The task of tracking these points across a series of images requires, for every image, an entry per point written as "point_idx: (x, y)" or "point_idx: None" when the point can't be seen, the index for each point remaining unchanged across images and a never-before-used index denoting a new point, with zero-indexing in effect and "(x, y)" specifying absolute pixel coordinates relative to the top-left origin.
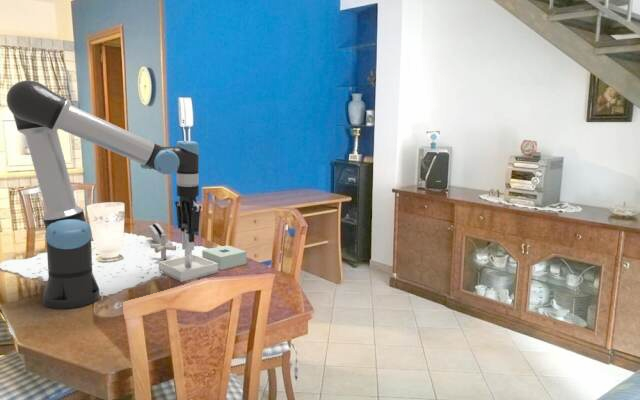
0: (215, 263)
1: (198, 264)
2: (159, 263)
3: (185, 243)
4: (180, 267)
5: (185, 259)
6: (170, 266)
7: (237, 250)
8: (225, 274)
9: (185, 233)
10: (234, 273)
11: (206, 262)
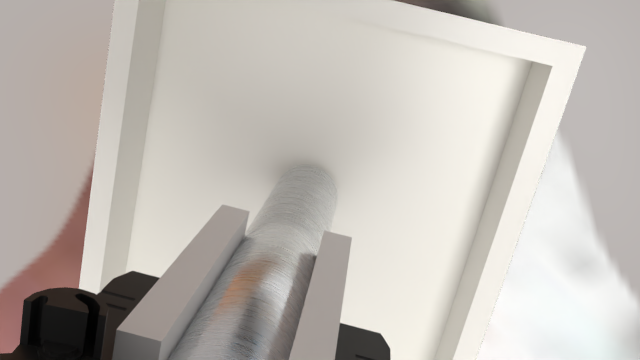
0: None
1: None
2: (562, 41)
3: (261, 264)
4: (404, 187)
5: (298, 189)
6: (349, 3)
7: None
8: None
9: (213, 352)
10: (8, 350)
11: None
